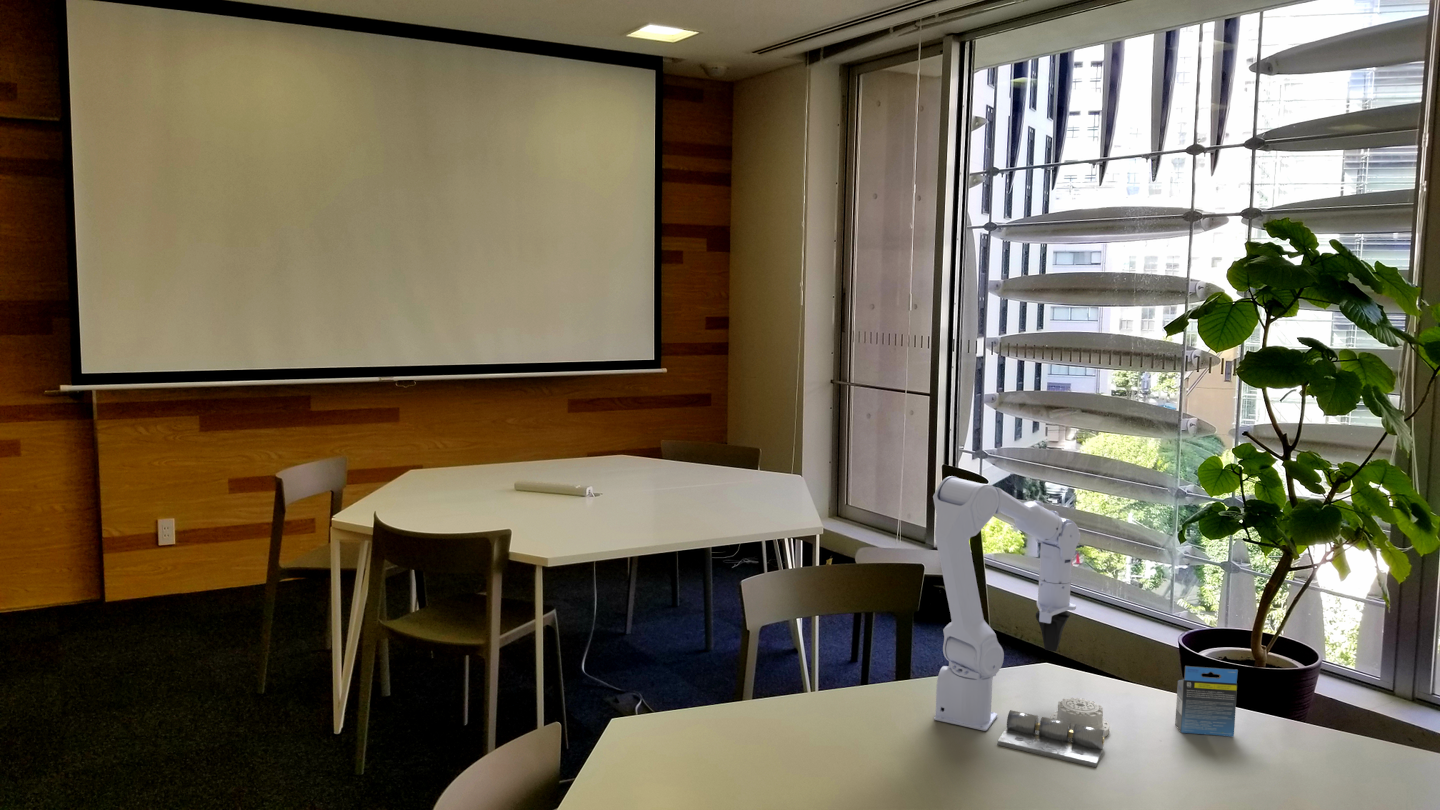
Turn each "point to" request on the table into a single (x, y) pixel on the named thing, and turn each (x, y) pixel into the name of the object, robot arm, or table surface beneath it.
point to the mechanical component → (1081, 714)
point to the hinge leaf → (1053, 738)
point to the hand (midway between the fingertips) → (1051, 649)
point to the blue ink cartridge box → (1207, 701)
